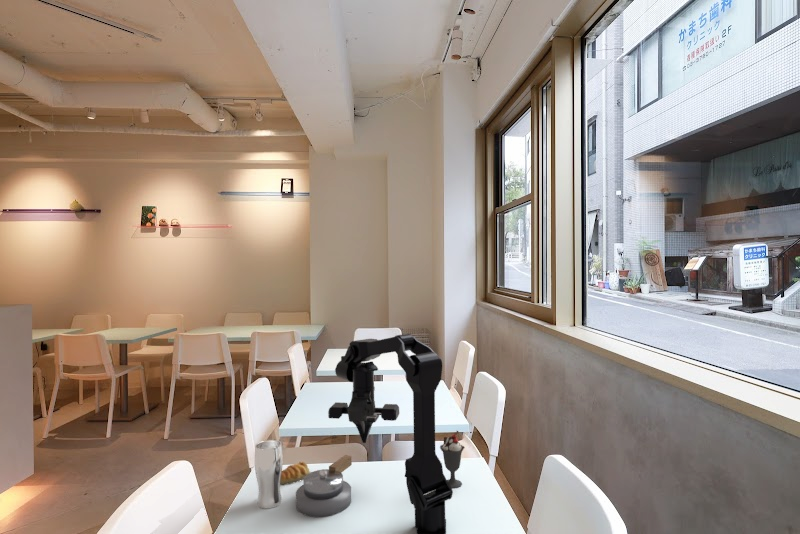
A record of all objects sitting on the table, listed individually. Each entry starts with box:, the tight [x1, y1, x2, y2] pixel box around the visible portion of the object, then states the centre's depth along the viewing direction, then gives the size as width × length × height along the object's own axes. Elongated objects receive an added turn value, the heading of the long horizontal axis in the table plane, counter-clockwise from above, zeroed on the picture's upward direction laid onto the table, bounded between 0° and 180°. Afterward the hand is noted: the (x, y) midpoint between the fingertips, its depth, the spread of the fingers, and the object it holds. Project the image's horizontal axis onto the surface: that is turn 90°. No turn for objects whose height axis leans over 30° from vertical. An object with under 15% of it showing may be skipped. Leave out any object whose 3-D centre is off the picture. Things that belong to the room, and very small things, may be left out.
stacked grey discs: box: [295, 480, 352, 518], centre depth 120 cm, size 14×14×3 cm
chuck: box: [302, 454, 352, 499], centre depth 123 cm, size 17×10×5 cm, turn 154°
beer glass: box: [254, 439, 284, 510], centre depth 120 cm, size 7×7×15 cm
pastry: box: [280, 461, 311, 485], centre depth 134 cm, size 9×7×4 cm
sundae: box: [439, 430, 465, 489], centre depth 128 cm, size 7×7×15 cm
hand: (364, 442), depth 128 cm, fingers closed
